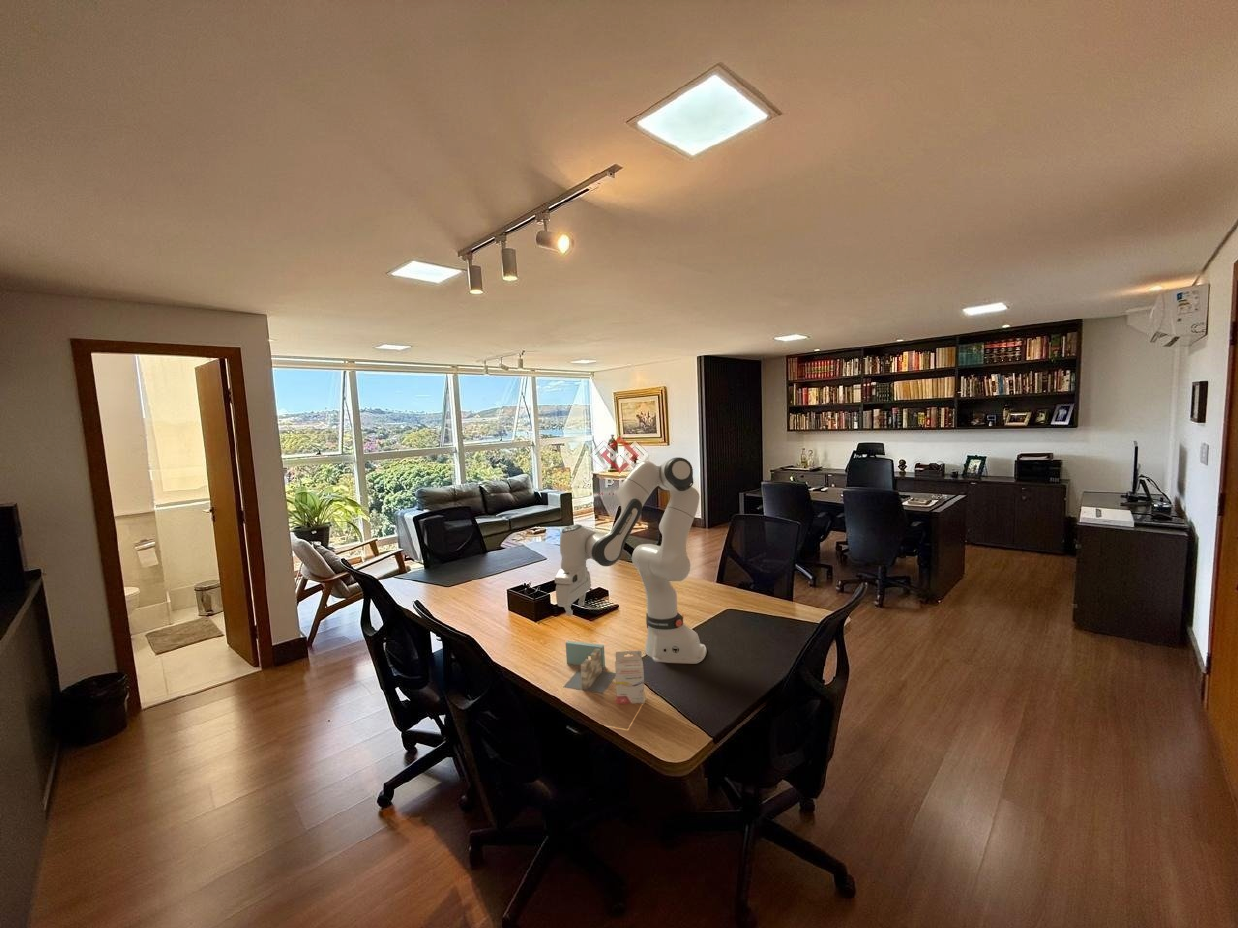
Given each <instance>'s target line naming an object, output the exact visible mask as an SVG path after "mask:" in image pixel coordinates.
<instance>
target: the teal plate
mask: <svg viewBox="0 0 1238 928" xmlns="http://www.w3.org/2000/svg"><path fill="white" fill-rule="evenodd" d="M595 649H601V666H602V670H603V669H604V668H605V667H606V659H605V656H606V655H605V645H604V644H598V643H597V644H596V643H590V642H589V643H588V642H582V641H581V642H580V641H573V640H567V641H566V642H565V652H566V653H565V654H566V657H565V658H566V664H567V665H574V666H580V667H581V664H582V663H583V662H584V661H585V660H586V659H589V657H591V653H592V652H593V651H594V650H595Z"/></svg>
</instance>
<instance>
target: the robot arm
mask: <svg viewBox="0 0 1238 928" xmlns="http://www.w3.org/2000/svg"><path fill="white" fill-rule="evenodd" d="M693 470H694V469H693V466H692V464H691V462H690V461H689V460H688V459H687V458H684V457H673V458H670V459H669V460H667V461H665V462H663V463H662V464H660V465H656V464H655V463H653V462H651V461H647V460H643V461H640V462H639V463H638V464H637V465H636V466H635V467H633V468H632V470H631V471H630V472H629V473H628V474H627V475H626V477H625V478H624V479H623V481H622V483H620V486H619V487H618V489H617V491H616V500H617V502H618V505H620V509H621V510H620V514H619V517H618V518H617V520H616V522H615V523H614V525H613V527H612V528H611V530H610V531H609V533H607V534H605V533H602V532H599V531H596V530H592V529H589V528H586V527H585V526H583V525H581V524H570V525H568V526H566V527H564V528H563V529H562V530H561V533H560V537H559V538H560V540H559V552H560V555H561V556H560V557H561V562H560V568H559V570H558V572H557V574H556V575H555V577H554V584H556V586H555V597H556V598H555V599H556V600H555V601H556V605H557V606H558V607H560V608H561V607H562V608H564V610H565V615H566V617H571V616H572V615H573V613H574V612H573V609H572V608H571V607H572V604H574V603H575V602H576V601H577V600H578V599H579V600H578V602H577V603H578V607H583V606H585V599H586V595H587V592H589V591H590V589H591V587H592V582H591V573H590V571H589V570H588V567H587V560H590V559H591V560H592V561H594V562H596V563H597V565H600V566H602V567H612V566H613V565H615V564H617V563H618V561H619V560H620V559H621V556H622V553H623V551H624V547H625V544H626V542H627V540H628V538H629V536H630V535H631V533H632V531H633V529H634V528H635V526H636V525H637V522H638V520H639V518H640V516H641V514H642V511H643V507H644V505H645V503H646V502H647V500H648V498H649V497H650V496H651V494H652V493H653V491H654V490H655V489H659V491H663V492H669V494H670V495H669V502H668V503H667V506H666V507H665V510H664V513H663V514H662V517H661V519H660V522H659V525H658V529H659V530H658V531H660V534H661V536H662V537H661V544H660V545H657V544H653V543H641V544H639V545H637V546H636V547H635V548H634V550H633V552H632V554H631V555H632V556H631V562H632V564H633V566H634V567H635V568H636V570H637V572H638V573H639V576H640V579H641V582H642V583H643V587H644V591H645V596H646V609H647V610H646V611H647V613H646V618H645V621H646V622H645V624H646V628H647V632H646V633H647V635H646V636H647V637H646V643H645V647H644V653H645V654H646V655H647V656H648V657H650V658H651V659H652V660H653V661H654V662H655V663H665V664H689V665H691V664H692V665H693V664H694V665H695V664H699V663H700V662H702V661H703V660H704V659H705V658H706V655H707V647H706V646H707V645H705V644H704V643H701V641H700V637H699V635H698V633H697V632H696V631H695V630H693V629H692V628H691V627H689V626H688V625H687V624H685V623H684V617H685V615H684V613H682V614H680V613H679V612H678V596H677V591H676V588H674V586H673V585H672V584H671V582H682V581H685V580H686V578H687V577H688V576H689V574H690V571H691V562H690V559H689V557H688V554H687V541H688V535H689V533H690V530H691V527H692V524H693V522H694V519H695V518H696V514H697V511H698V508H699V503H700V498H701V496H700V493H699V491H698V490H697V489H696V488H694V487H693V485H694V477H693V476H694V471H693Z"/></svg>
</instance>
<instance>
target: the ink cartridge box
mask: <svg viewBox="0 0 1238 928" xmlns="http://www.w3.org/2000/svg"><path fill="white" fill-rule="evenodd" d="M627 655H630V656H627ZM631 655H632V656H631ZM614 663H615V665H614V666H615V667H614V668H615V673H616V676H615V687H616V688H615V692H616V695H615V696H616V704H617V705H626V704H627V705H629V704H640V703H641V705H644V704H646V699H645V698H646V696H645V675H644V673H645V672H644V669H645V668H644V662H643V659H642V650H631V651H630V650H629V651H627V650H626V651H615V662H614Z"/></svg>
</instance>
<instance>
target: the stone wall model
mask: <svg viewBox="0 0 1238 928" xmlns="http://www.w3.org/2000/svg"><path fill="white" fill-rule="evenodd" d="M580 668H581V679H582V689H583V690H588V688H589V687H590V686H591V685H592V683H593V682H594V681H595V680H596V678H597V677H598V676H599V675H600V673H601V672H602V671H603V669H602V666H601V649H595V650H594V651H593V652H592V653H591V656H590V659H589V658H588V659H586V660H585V661H584V662H583V663H582V664H581V666H580ZM583 690H582V691H583Z"/></svg>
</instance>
